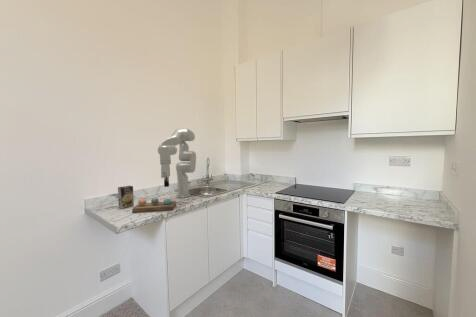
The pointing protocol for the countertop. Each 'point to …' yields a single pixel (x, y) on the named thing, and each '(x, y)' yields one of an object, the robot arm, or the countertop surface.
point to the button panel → (154, 207)
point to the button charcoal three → (154, 201)
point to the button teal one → (167, 201)
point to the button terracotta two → (142, 201)
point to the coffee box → (125, 197)
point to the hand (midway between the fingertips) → (166, 186)
